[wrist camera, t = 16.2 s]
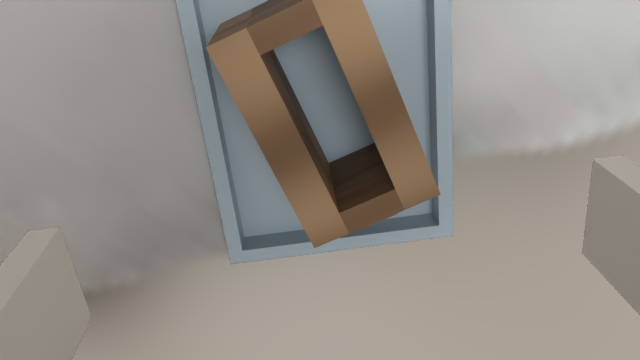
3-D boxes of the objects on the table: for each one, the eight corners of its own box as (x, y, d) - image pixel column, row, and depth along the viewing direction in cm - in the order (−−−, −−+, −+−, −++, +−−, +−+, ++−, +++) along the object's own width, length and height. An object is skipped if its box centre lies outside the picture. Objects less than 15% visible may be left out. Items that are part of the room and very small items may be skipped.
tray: (233, 245, 33) (230, 264, 32) (167, -79, 26) (158, -79, 24) (443, 219, 34) (453, 235, 32) (437, -111, 26) (449, -114, 24)
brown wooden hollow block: (220, 23, 28) (205, 47, 22) (338, -34, 27) (353, -24, 21) (321, 218, 32) (329, 276, 27) (423, 174, 32) (453, 225, 26)
